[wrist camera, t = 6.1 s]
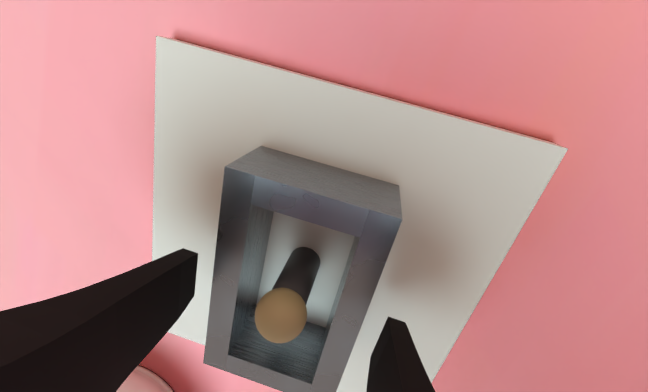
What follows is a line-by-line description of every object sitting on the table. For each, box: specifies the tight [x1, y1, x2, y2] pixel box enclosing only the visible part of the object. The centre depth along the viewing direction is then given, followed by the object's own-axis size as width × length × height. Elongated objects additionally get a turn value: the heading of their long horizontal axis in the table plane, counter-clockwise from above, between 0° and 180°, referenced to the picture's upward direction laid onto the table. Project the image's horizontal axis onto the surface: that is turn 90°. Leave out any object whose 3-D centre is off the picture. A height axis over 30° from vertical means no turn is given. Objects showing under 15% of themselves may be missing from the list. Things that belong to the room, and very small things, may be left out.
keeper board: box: [152, 36, 568, 392], centre depth 12 cm, size 15×15×5 cm
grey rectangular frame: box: [203, 146, 402, 392], centre depth 12 cm, size 9×6×3 cm, turn 167°
